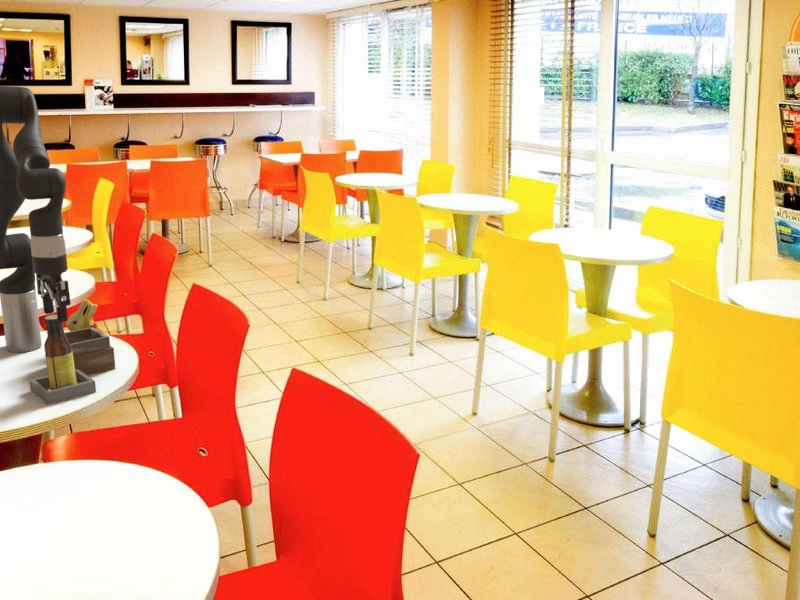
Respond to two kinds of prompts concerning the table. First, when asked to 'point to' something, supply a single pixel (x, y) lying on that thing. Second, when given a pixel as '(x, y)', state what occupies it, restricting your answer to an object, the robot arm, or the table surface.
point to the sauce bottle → (58, 355)
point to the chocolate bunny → (83, 317)
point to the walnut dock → (91, 350)
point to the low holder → (65, 393)
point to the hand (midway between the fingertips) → (55, 317)
